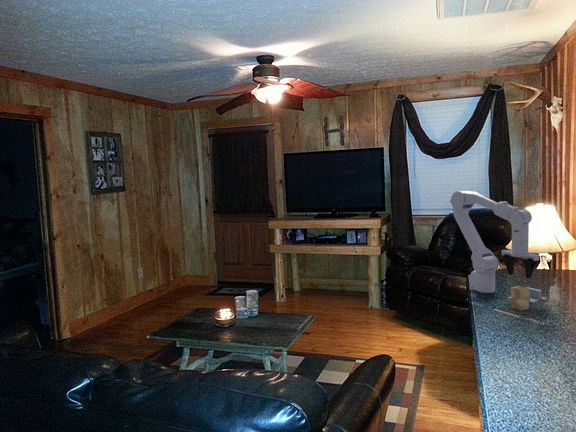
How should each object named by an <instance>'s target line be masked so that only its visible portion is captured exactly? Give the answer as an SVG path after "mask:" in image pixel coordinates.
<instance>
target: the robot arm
mask: <svg viewBox="0 0 576 432" xmlns="http://www.w3.org/2000/svg"><path fill="white" fill-rule="evenodd" d="M449 202H450V204H451V205H452V214H453V218H454V220H456V223H457V225H458V227H459V229H460V231H461V233H462V234H463V237H464V239H465V240H466V243H467V245H468V247H469V248H470V251H471V252H472V254H471V257H470V259H471V262H472V267H473V269H474V270H472V271H471V272H470V276H469V291H472V290H473V291H475V292H479V293H485V294H486V293H487V294H492V293H495V292H496V272H497V271H496V269H497V268H499V264H500V261H499V258H498V257H497V256H495V254H494V253H493V252H492V250H490V249H489V248H487V247H486V246H485V244H484V242H483V240H482V239H481V235H480V234H479V232H478V230H477V229H476V226H475V225H474V223H473V221H472V219H471V217H470V216H469V213H470V210H471V209H472V208H473V207H474V205H475V204H476V205H478V206H482V207H484V208H487V209H489V210H491V211H493V214H494V215H495V216H498V217H499V218H502V219H504V220H506V221H508V222H509V223H510V224H511V250H509V249H503V250H501V256H502V257H501V258H502V261H503V263H504V265H505V267H506V270H507V275H509V276H510V275H514V271H515V270H514V269H515V261H516V258H520V259H524V260H523V263H524V268H525V279H531V278H532V276H533V273H534V270H535V268H536V265H537V264H538V263H539V260H540V255H539V254H535V253H531V252H529V232H530V231H529V228H530V227H529V224H530V223H531V221H532V219H533V217H532V213H531V212H530V211H529V210H527V209H524V208H522V209H520V207H518V206H513V205H511V204H509V202H508V201H506V200H505V201H499V202H497V201H495V200H493V199H490V198H488V197H487V196H485V195H482V194H480V193H479V192H477V191H474V190H472V189H471V190H470V189H469V190H464V191H463V190H460V191H459V190H458V191H457V190H456V191H455V192H453V193H452V194H451V197H450V201H449Z"/></svg>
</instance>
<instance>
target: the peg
mask: <svg viewBox="0 0 576 432" xmlns="http://www.w3.org/2000/svg"><path fill="white" fill-rule="evenodd" d="M529 288H530V287H529ZM529 288H526V287H525V286H521V285H516V286H512V287H511V288H510V289H511V293H510V295H511V296H510V297H511V298H510V308H511V309H514V310H517V311H525V310H528V309H529V305H530V303H529Z"/></svg>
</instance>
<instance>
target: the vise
mask: <svg viewBox="0 0 576 432" xmlns="http://www.w3.org/2000/svg"><path fill="white" fill-rule="evenodd" d="M526 288H529V304H530V303H535V302H538V301H543V300H546V299H548V298H547V297H543V296H542V294H543V293H542V290H541V289H537V288H532V287H530V286H529V287H528V286H527V287H526ZM507 298H509V299H511V296H507Z"/></svg>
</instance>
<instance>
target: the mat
mask: <svg viewBox="0 0 576 432" xmlns="http://www.w3.org/2000/svg"><path fill="white" fill-rule="evenodd" d="M493 311H494V312H497V313H501V314H503V315H508V316H511V317H515V318H517V319H519V318H523V317H526V315H524V314H519V313H515V312H512V311H509V310H506V309H501V308H494V309H493Z"/></svg>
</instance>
